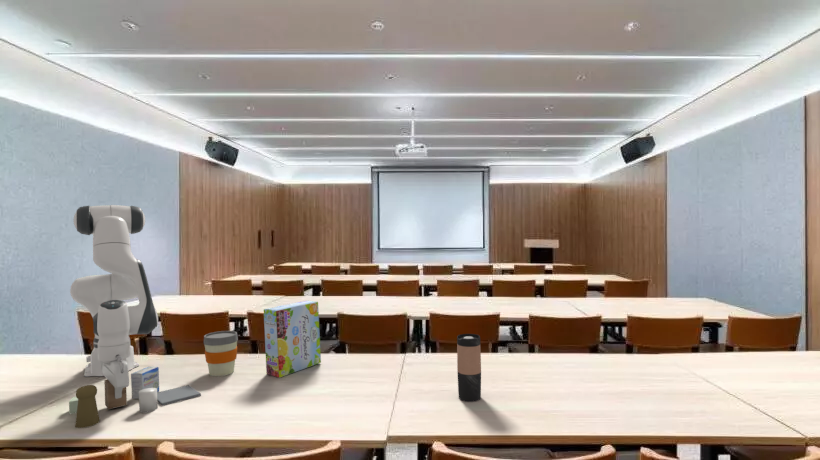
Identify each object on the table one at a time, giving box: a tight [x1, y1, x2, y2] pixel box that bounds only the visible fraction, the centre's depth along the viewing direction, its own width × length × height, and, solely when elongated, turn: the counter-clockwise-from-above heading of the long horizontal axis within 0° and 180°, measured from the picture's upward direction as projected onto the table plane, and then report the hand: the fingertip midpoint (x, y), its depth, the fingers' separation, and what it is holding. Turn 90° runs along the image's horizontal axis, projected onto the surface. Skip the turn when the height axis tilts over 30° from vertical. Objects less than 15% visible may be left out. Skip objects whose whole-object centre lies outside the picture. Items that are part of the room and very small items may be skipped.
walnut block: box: [103, 379, 128, 410], centre depth 150 cm, size 5×5×8 cm
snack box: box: [263, 300, 322, 379], centre depth 186 cm, size 22×9×26 cm, turn 144°
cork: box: [74, 384, 101, 429], centre depth 138 cm, size 6×6×11 cm
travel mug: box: [456, 333, 482, 403], centre depth 152 cm, size 8×8×20 cm
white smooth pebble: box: [138, 388, 158, 414], centre depth 148 cm, size 5×5×6 cm
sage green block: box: [68, 396, 78, 415], centre depth 148 cm, size 4×6×4 cm, turn 114°
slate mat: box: [157, 384, 202, 406], centre depth 159 cm, size 12×12×1 cm
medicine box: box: [130, 366, 160, 400], centre depth 161 cm, size 8×4×9 cm, turn 168°
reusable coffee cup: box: [203, 330, 239, 377], centre depth 184 cm, size 13×13×15 cm
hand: (115, 395), depth 150 cm, fingers closed on walnut block, 5 cm apart
